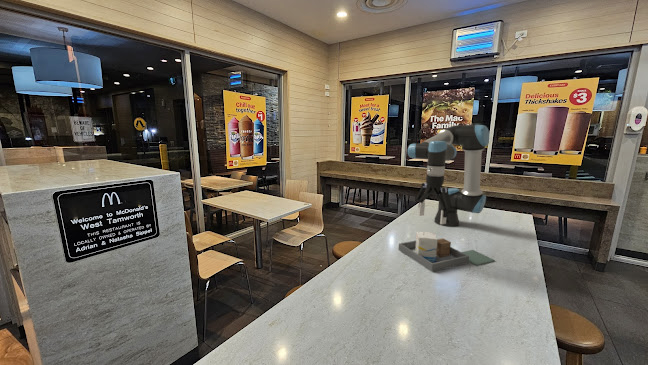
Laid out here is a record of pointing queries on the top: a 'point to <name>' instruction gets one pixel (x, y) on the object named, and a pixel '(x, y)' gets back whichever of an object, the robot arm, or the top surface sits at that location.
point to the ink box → (426, 245)
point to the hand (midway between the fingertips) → (431, 219)
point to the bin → (459, 260)
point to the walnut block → (443, 248)
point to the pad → (477, 258)
